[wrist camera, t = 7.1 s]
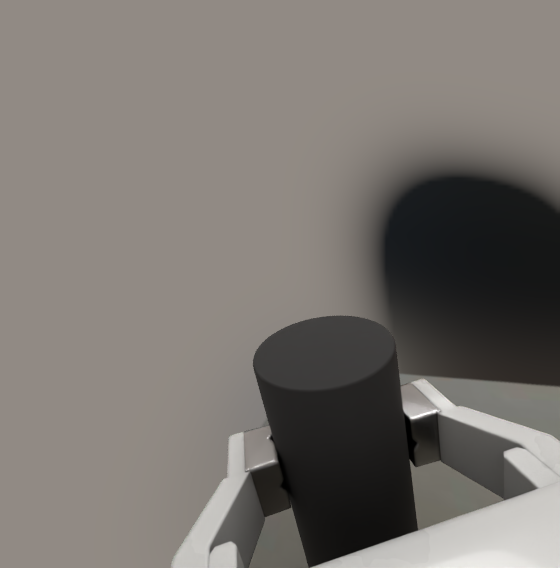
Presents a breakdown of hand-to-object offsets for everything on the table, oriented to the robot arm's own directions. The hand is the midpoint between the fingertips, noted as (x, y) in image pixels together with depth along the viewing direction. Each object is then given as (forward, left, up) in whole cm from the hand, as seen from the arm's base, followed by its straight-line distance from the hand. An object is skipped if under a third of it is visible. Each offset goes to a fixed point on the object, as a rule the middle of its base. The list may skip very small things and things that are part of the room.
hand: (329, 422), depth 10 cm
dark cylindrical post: (0, -1, -7) cm, 7 cm away
